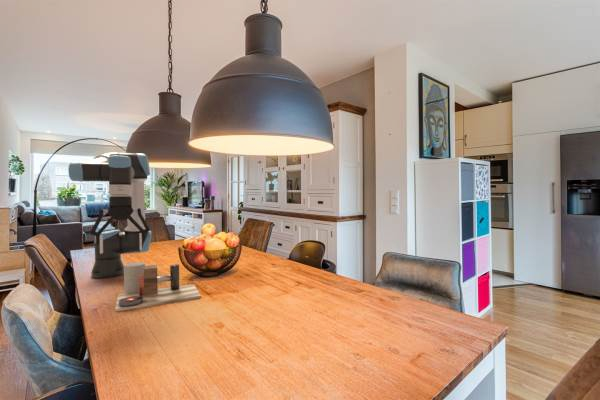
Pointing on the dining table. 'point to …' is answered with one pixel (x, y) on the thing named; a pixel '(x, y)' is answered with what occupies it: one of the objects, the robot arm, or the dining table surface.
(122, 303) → the handwheel
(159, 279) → the t-handle
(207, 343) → the dining table surface
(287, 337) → the dining table surface
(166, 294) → the block
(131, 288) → the beige solid cylinder
